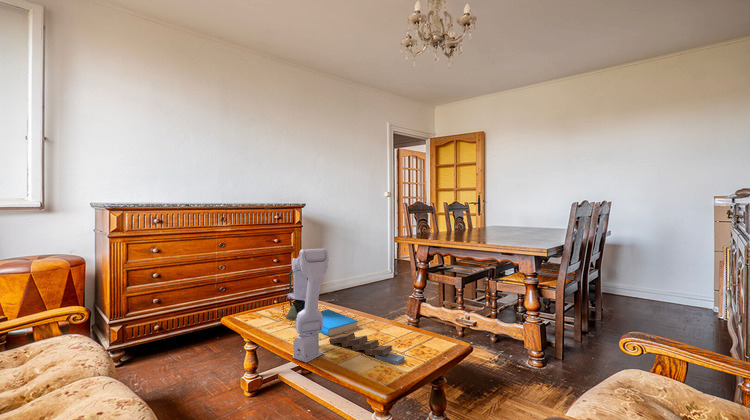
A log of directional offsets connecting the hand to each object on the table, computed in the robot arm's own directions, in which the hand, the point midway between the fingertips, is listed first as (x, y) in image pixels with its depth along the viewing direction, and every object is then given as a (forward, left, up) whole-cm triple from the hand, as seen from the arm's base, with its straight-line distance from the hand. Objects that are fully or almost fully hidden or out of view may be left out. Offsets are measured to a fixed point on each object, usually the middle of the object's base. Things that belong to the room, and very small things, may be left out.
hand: (300, 317), depth 153 cm
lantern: (+25, +25, -11) cm, 37 cm away
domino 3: (+7, -25, -10) cm, 28 cm away
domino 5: (+7, -37, -10) cm, 38 cm away
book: (+21, +4, -11) cm, 25 cm away
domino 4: (+7, -32, -9) cm, 34 cm away
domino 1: (+7, -12, -10) cm, 17 cm away
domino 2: (+8, -19, -10) cm, 22 cm away
